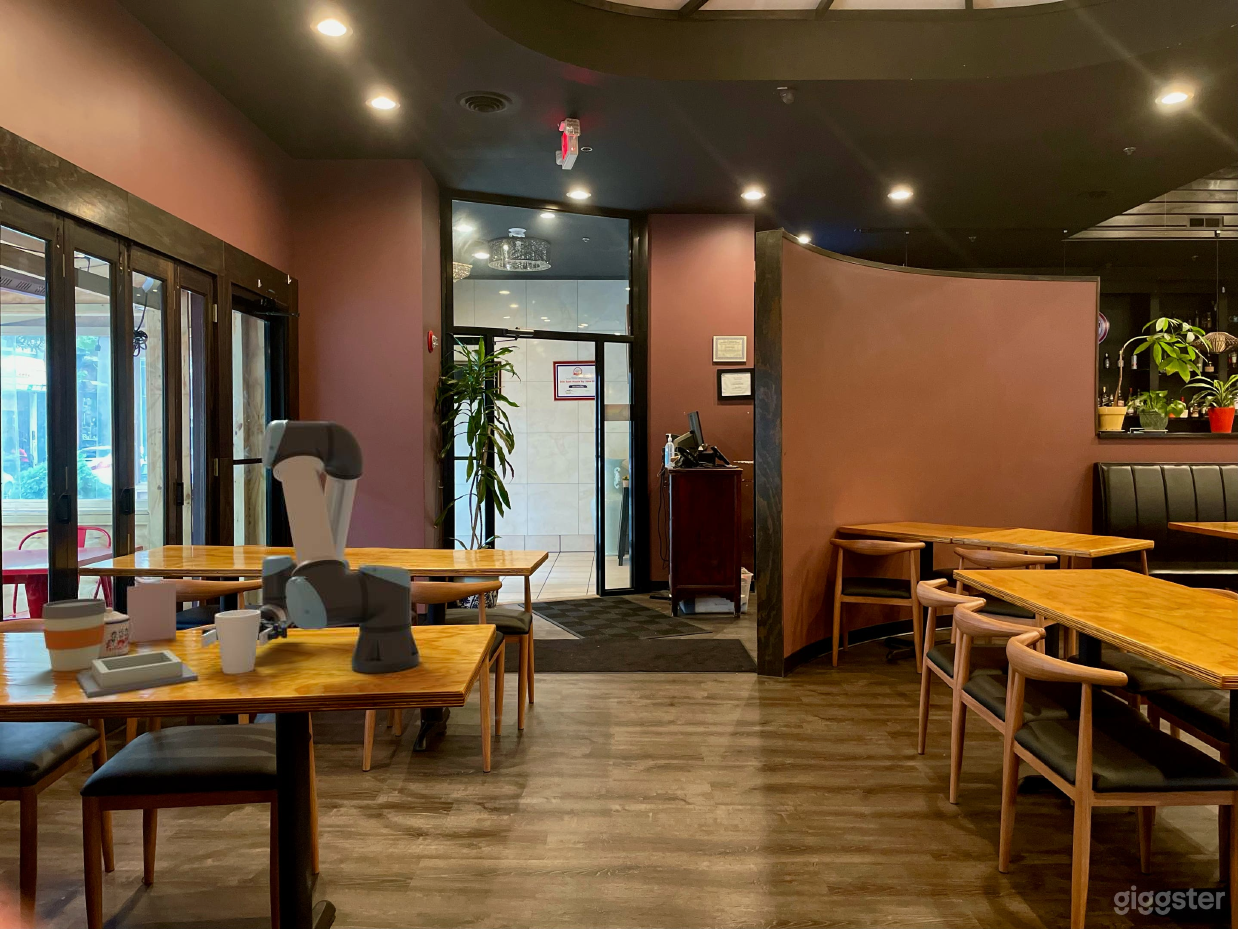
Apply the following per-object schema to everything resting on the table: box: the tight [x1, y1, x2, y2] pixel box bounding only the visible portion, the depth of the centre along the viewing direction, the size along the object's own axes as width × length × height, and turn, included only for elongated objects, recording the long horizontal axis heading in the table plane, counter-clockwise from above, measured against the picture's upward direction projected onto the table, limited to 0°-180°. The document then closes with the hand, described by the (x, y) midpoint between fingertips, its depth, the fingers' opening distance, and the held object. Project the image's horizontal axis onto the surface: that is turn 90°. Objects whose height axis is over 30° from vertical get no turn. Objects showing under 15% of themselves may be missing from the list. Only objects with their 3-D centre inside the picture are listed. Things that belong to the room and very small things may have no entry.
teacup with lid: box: [98, 607, 133, 659], centre depth 200 cm, size 12×9×12 cm
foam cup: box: [214, 609, 261, 675], centre depth 180 cm, size 10×9×13 cm
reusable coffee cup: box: [41, 598, 107, 672], centre depth 186 cm, size 12×13×15 cm
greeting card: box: [126, 582, 177, 643], centre depth 215 cm, size 11×7×15 cm, turn 82°
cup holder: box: [76, 649, 199, 698], centre depth 174 cm, size 20×20×4 cm
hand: (232, 640), depth 177 cm, fingers open, 12 cm apart
